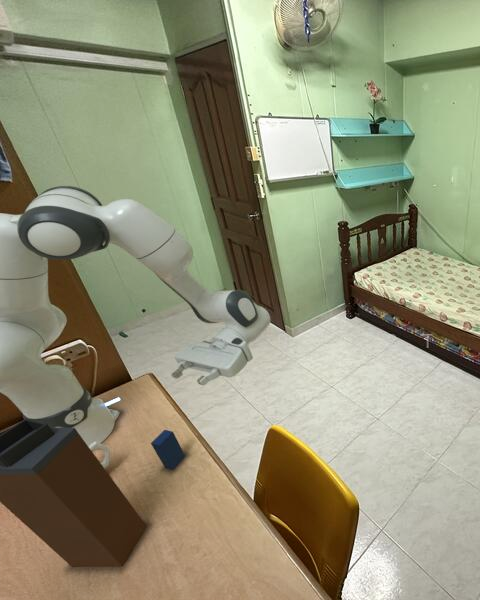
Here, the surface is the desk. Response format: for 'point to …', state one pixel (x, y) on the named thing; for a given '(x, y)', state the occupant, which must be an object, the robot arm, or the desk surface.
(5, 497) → the tall brown bin
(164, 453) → the small dark blue block
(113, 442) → the desk surface
